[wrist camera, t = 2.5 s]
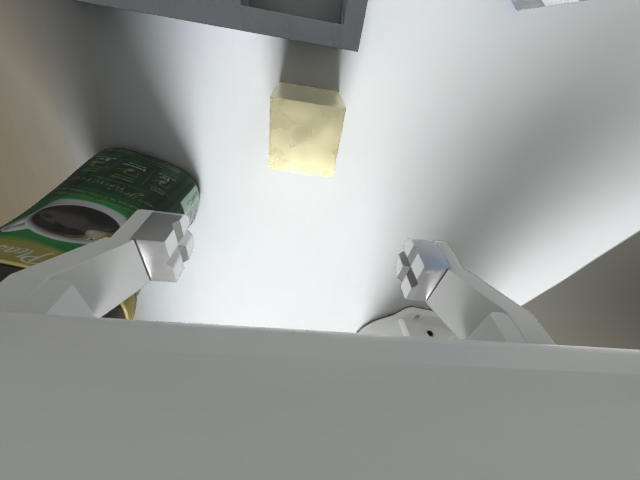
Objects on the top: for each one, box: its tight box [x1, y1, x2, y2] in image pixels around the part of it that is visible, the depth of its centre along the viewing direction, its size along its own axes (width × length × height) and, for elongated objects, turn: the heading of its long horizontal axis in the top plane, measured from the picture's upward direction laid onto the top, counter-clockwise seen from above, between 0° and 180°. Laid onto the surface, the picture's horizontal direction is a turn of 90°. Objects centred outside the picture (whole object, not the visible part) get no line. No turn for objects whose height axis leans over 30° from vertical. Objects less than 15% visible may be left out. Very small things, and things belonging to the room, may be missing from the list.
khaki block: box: [269, 82, 346, 177], centre depth 21 cm, size 5×5×6 cm
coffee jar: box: [0, 148, 199, 320], centre depth 20 cm, size 10×8×19 cm
